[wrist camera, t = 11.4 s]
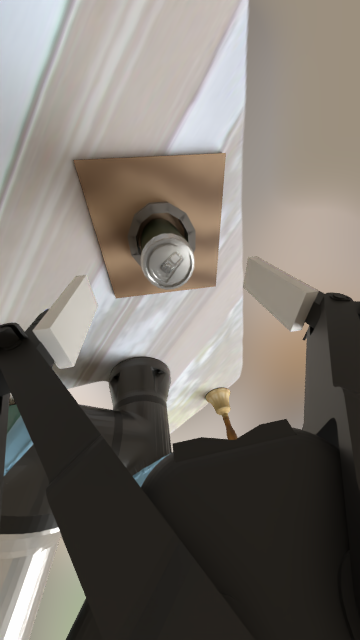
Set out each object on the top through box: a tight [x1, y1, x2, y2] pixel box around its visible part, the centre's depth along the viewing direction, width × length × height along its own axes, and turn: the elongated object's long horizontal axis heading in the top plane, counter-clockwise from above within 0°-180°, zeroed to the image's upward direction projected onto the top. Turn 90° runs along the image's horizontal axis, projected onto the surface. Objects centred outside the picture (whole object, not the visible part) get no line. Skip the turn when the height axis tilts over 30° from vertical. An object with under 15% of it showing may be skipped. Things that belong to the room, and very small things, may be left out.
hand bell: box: [206, 388, 237, 440], centre depth 52 cm, size 8×8×16 cm
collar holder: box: [74, 153, 226, 298], centre depth 26 cm, size 18×18×4 cm
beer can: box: [140, 219, 194, 290], centre depth 22 cm, size 5×5×12 cm
